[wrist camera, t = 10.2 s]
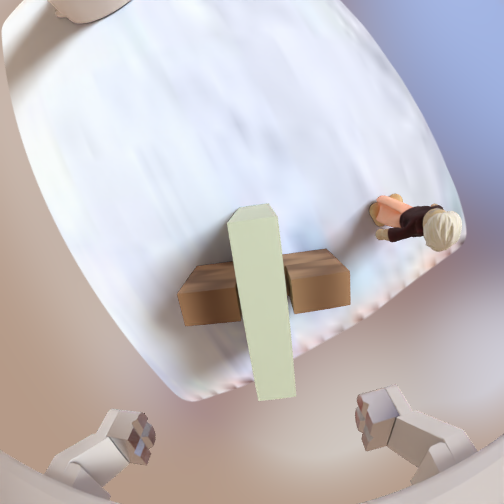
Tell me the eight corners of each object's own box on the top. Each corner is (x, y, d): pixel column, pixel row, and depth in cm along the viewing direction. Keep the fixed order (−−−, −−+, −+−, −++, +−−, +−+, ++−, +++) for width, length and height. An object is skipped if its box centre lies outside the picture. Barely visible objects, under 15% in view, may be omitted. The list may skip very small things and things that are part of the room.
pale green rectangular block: (239, 207, 28) (226, 223, 16) (268, 203, 28) (277, 216, 16) (257, 329, 31) (258, 401, 20) (283, 326, 31) (296, 396, 19)
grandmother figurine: (399, 179, 27) (474, 182, 15) (414, 208, 28) (488, 225, 15) (348, 215, 28) (407, 237, 16) (364, 244, 29) (426, 283, 16)
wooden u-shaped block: (201, 291, 30) (185, 326, 22) (196, 266, 30) (177, 293, 22) (327, 275, 30) (350, 304, 22) (326, 248, 29) (349, 271, 21)
